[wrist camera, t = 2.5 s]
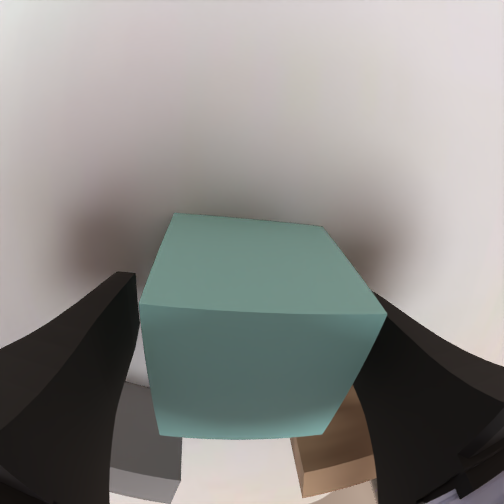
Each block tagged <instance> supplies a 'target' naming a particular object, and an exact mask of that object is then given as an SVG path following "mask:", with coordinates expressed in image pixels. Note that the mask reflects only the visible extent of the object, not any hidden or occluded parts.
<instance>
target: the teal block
mask: <svg viewBox="0 0 504 504" xmlns="http://www.w3.org/2000/svg"><path fill="white" fill-rule="evenodd" d="M139 312H140V321H141V330H142V338H143V346H144V353H145V360H146V366H147V373H148V379H149V385H150V390H151V396H152V401H153V406H154V411H155V416H156V420H157V425H158V430H159V434H160V435H163V436H173V437H185V438H200V439H230V440H245V439H276V438H291V437H303V436H313V435H321V434H323V432H324V431H325V429H326V428H327V426H328V425H329V423H330V421H331V420H332V418H333V417H334V415H335V413H336V412H337V410H338V408H339V407H340V405H341V403H342V402H343V400H344V398H345V397H346V395H347V393H348V391H349V390H350V388H351V386H352V384H353V383H354V381H355V379H356V377H357V375H358V373H359V372H360V370H361V368H362V366H363V364H364V362H365V360H366V358H367V356H368V354H369V352H370V350H371V348H372V346H373V344H374V342H375V340H376V338H377V336H378V334H379V332H380V330H381V327H382V325H383V323H384V321H385V319H386V316H387V312H386V311H385V310H384V308H383V307H382V305H381V304H380V303H379V301H378V300H377V298H376V297H375V296H374V294H373V293H372V291H371V290H370V289H369V287H368V286H367V284H366V283H365V282H364V280H363V279H362V278H361V276H360V275H359V274H358V272H357V271H356V270H355V268H354V267H353V266H352V264H351V263H350V262H349V260H348V259H347V258H346V256H345V255H344V254H343V252H342V251H341V250H340V249H339V247H338V246H337V245H336V243H335V242H334V241H333V240H332V238H331V237H330V236H329V234H328V233H327V232H326V231H325V229H324V228H323V227H322V226H314V225H305V224H296V223H286V222H276V221H266V220H255V219H244V218H233V217H222V216H209V215H197V214H184V213H174V215H173V217H172V219H171V222H170V224H169V227H168V229H167V231H166V234H165V236H164V239H163V241H162V243H161V246H160V248H159V251H158V253H157V256H156V258H155V261H154V264H153V266H152V269H151V271H150V274H149V277H148V279H147V282H146V285H145V287H144V290H143V293H142V296H141V298H140V301H139Z"/></svg>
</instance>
